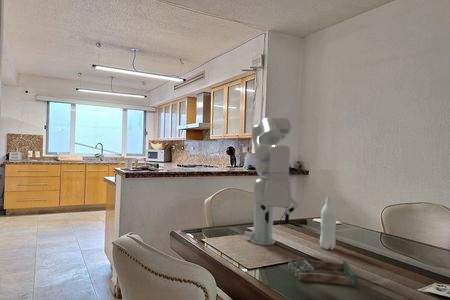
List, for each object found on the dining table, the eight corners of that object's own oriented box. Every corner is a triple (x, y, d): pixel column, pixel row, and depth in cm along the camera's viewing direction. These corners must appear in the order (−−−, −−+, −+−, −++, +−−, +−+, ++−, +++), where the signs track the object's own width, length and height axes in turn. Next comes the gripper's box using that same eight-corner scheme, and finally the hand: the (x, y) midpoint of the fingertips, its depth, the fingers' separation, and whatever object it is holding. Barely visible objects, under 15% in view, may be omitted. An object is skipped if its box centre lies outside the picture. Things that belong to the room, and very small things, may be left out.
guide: (298, 280, 107) (299, 270, 107) (296, 263, 124) (297, 254, 124) (355, 287, 103) (355, 277, 103) (345, 268, 120) (345, 259, 120)
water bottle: (336, 251, 141) (338, 197, 141) (320, 249, 143) (322, 196, 143) (333, 246, 148) (336, 195, 148) (318, 245, 150) (320, 194, 150)
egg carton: (286, 267, 120) (286, 256, 120) (304, 267, 121) (305, 257, 121) (295, 278, 109) (295, 267, 109) (315, 278, 110) (315, 267, 110)
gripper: (255, 176, 115) (253, 223, 115) (302, 179, 112) (300, 227, 112) (257, 174, 122) (255, 219, 122) (301, 177, 119) (299, 223, 119)
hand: (276, 222), depth 117 cm, fingers open, 6 cm apart
